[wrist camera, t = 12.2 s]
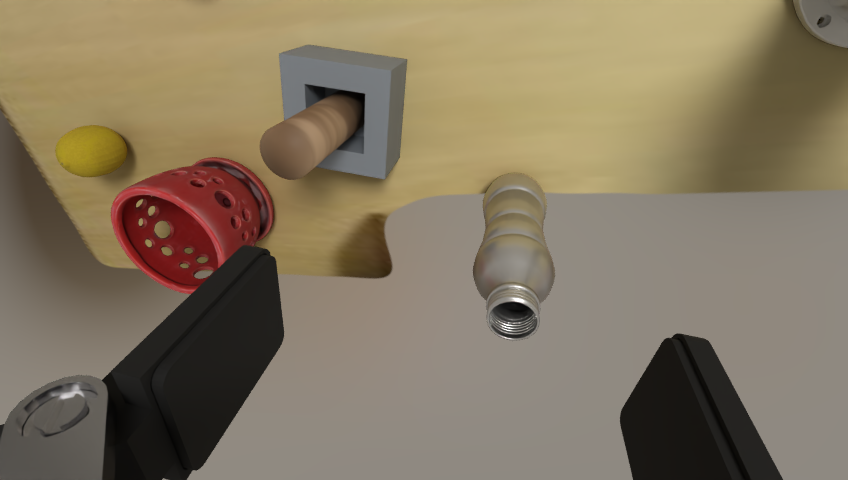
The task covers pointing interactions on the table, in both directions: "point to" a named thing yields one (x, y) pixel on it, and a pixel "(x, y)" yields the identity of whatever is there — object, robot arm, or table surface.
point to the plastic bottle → (514, 256)
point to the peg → (312, 134)
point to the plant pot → (192, 219)
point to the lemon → (91, 151)
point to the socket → (359, 72)
